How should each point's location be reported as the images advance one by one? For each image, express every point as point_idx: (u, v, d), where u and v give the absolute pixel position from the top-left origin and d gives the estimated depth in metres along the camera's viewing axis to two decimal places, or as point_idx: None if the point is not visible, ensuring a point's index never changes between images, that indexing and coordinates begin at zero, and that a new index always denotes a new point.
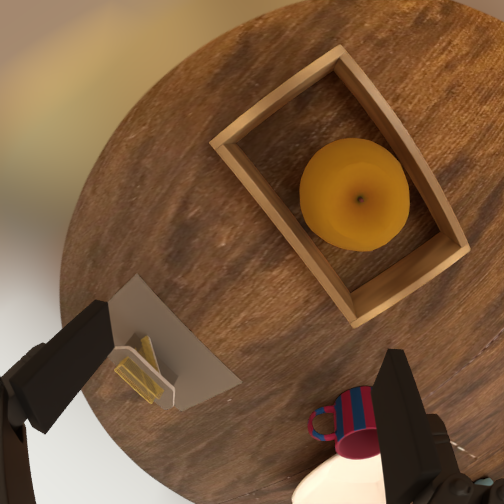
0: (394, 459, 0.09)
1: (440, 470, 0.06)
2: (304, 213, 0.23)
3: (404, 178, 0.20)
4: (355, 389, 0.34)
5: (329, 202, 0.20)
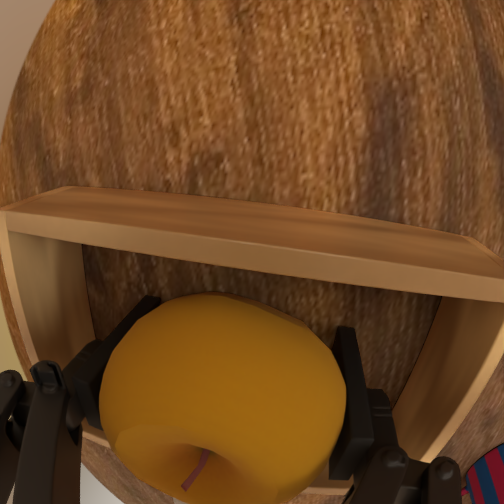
0: None
1: (372, 439, 0.08)
2: None
3: (227, 384, 0.07)
4: (479, 463, 0.17)
5: (164, 488, 0.08)
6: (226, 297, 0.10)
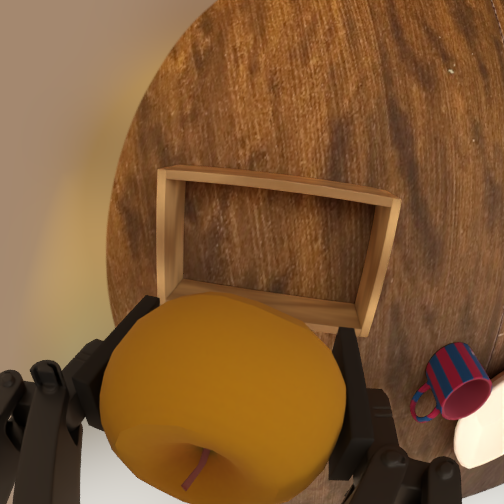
0: None
1: (372, 439, 0.08)
2: None
3: (227, 383, 0.07)
4: (432, 358, 0.32)
5: (165, 487, 0.08)
6: (226, 297, 0.10)
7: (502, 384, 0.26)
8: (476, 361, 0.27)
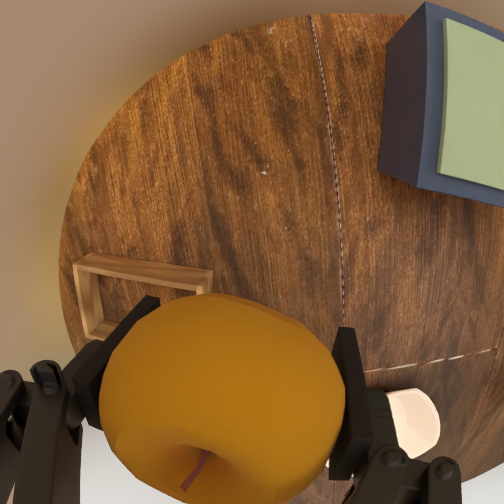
0: None
1: (372, 439, 0.08)
2: None
3: (226, 385, 0.07)
4: None
5: (164, 488, 0.08)
6: (225, 298, 0.10)
7: None
8: None
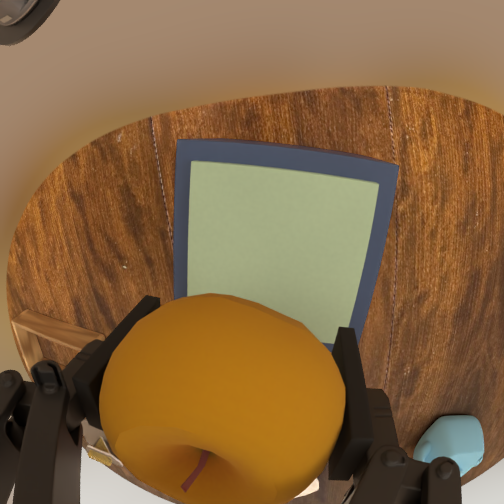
0: None
1: (372, 438, 0.08)
2: None
3: (226, 385, 0.07)
4: None
5: (164, 488, 0.08)
6: (226, 299, 0.10)
7: None
8: None
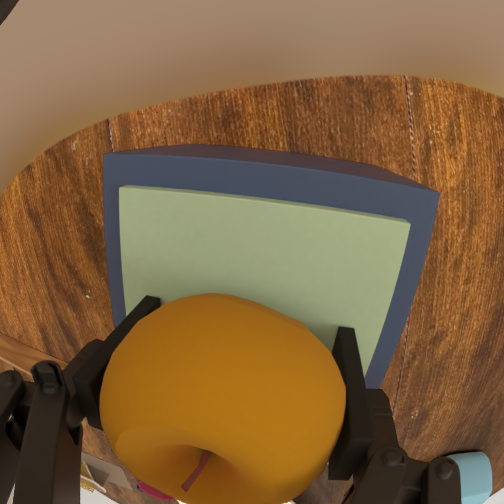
0: None
1: (371, 439, 0.08)
2: None
3: (227, 385, 0.07)
4: None
5: (165, 488, 0.08)
6: (226, 298, 0.10)
7: None
8: None
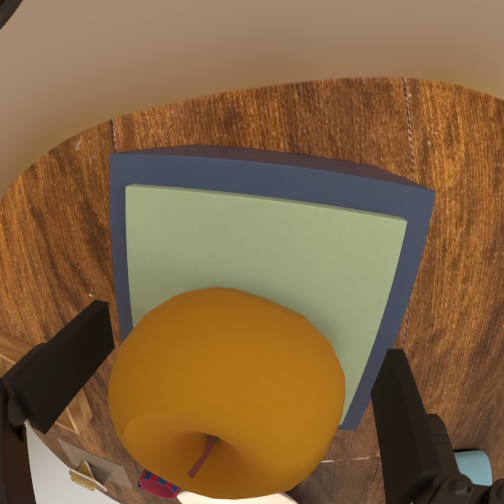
0: (394, 459, 0.09)
1: (440, 470, 0.06)
2: None
3: (233, 371, 0.08)
4: None
5: (170, 477, 0.09)
6: (231, 291, 0.11)
7: None
8: None
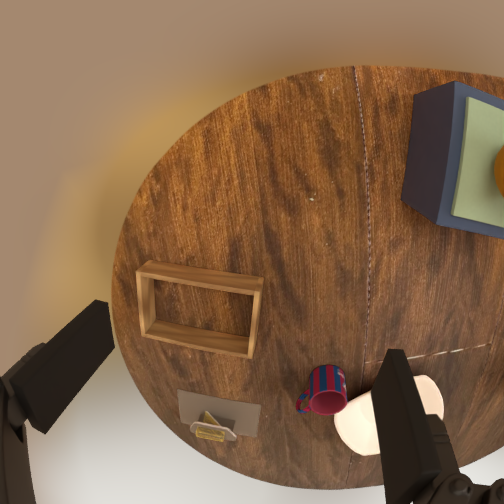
0: (394, 459, 0.09)
1: (440, 470, 0.06)
2: None
3: None
4: (311, 373, 0.55)
5: None
6: None
7: (362, 397, 0.50)
8: (337, 379, 0.51)
